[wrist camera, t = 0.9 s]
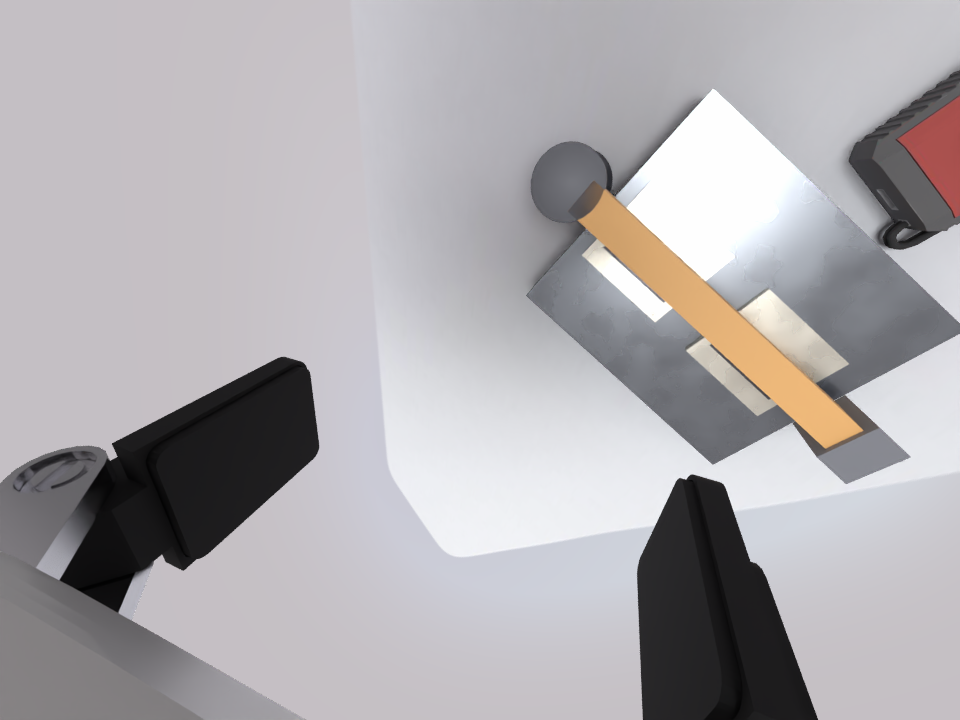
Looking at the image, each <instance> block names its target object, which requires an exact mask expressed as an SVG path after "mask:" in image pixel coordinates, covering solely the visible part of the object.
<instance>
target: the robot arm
mask: <svg viewBox="0 0 960 720" xmlns="http://www.w3.org/2000/svg"><path fill="white" fill-rule="evenodd" d="M310 377H311V376H310V372H309V370H307V367H306V365H305V364H304V363H303V362H301V361H297V360H294V359H290V358H287V357H280V358H277V359H275V360H273V361H271V362H269V363H267V364H266V365H264V366H262V367H260V368H258V369H256V370H254V371H252V372H250V373H248V374H246V375H244V376H242V377H240V378H238V379H236V380H234V381H232V382H231V383H229V384H227V385H225V386H223V387H221V388H219V389H217V390H215V391H213V392H211V393H209V394H207V395H205V396H203V397H201V398H199V399H198V400H196V401H194V402H192V403H190V404H188V405H186V406H184V407H182V408H180V409H178V410H176V411H174V412H172V413H170V414H168V415H167V416H164V417H163V418H161V419H159V420H157V421H155V422H153V423H151V424H149V425H147V426H145V427H143V428H141V429H139V430H137V431H135V432H133V433H132V434H129V435H128V436H126V437H124V438H122V439H120V440H118V441H116V442H114V443H112V445H113V447H114V449H115V452H116V454H117V456H118V457H117V458H115V459H113V460H111V461H110V460H109V458H108V456H107V453H106V451H104V450H103V449H101V448H99V447H94V446H76V447H71V448H66V449H61V450H57V451H54V452H51V453H48V454H45V455H43V456H40V457H38V458H36V459H33V460H31V461H29V462H27V463H26V464H24V465H22V466H21V467H19V468H17V469H16V470H14V471H13V472H12V473H11V474H10V475H9V476H7V477H6V478H5V479H4V480H3V481H2V482H1V483H0V720H305V719H303V718H302V717H300V716H298V715H297V714H295V713H293V712H291V711H290V710H288V709H286V708H284V707H283V706H281V705H279V704H277V703H276V702H274V701H272V700H270V699H269V698H267V697H265V696H263V695H262V694H260V693H258V692H256V691H255V690H253V689H251V688H249V687H248V686H246V685H244V684H242V683H240V682H239V681H237V680H235V679H234V678H232V677H230V676H228V675H227V674H225V673H223V672H221V671H220V670H218V669H216V668H214V667H213V666H211V665H209V664H207V663H205V662H204V661H202V660H200V659H198V658H197V657H195V656H193V655H191V654H190V653H188V652H186V651H184V650H183V649H181V648H179V647H177V646H176V645H174V644H172V643H170V642H168V641H167V640H165V639H163V638H162V637H160V636H158V635H156V634H154V633H153V632H151V631H149V630H147V629H146V628H144V627H142V626H140V625H138V624H137V623H135V622H133V621H132V618H133V616H134V613H135V610H136V608H137V605H138V603H139V600H140V597H141V595H142V592H143V590H144V587H145V584H146V582H147V579H148V577H149V574H150V571H151V569H152V566H153V563H154V560H156V559H157V558H158V557H159V556H160V555H163V557H164V559H165V561H166V562H167V563H169V564H171V565H173V566H175V567H177V568H179V569H181V570H185V569H186V568H187V567H188V566H189V565H190V564H192V563H193V562H194V561H195V560H196V559H200V558H202V557H204V556H205V555H207V554H208V553H209V552H210V551H211V550H213V549H214V548H215V547H216V546H217V545H218V544H219V543H220V542H222V541H223V540H224V539H225V538H226V537H227V536H228V535H229V534H230V533H232V532H233V531H234V530H235V529H236V528H237V527H238V526H239V525H240V524H242V523H243V522H244V521H245V520H246V519H247V518H248V517H249V516H250V515H252V514H253V513H254V512H255V511H256V510H257V509H258V508H259V507H260V506H262V505H263V504H264V503H265V502H266V501H267V500H268V499H269V498H270V497H271V496H273V495H274V494H275V493H276V492H277V491H278V490H279V489H280V488H282V487H283V486H284V485H285V484H286V483H287V482H288V481H289V480H290V479H292V478H293V477H294V476H295V475H296V474H297V473H298V472H299V471H300V470H301V469H302V468H304V467H305V466H306V465H307V464H308V463H309V462H310V461H311V460H313V459H314V457H315V456H316V454H317V452H318V450H319V440H318V432H317V424H316V416H315V408H314V401H313V393H312V384H311V378H310ZM637 584H638V606H639V607H638V609H639V633H640V659H641V682H642V709H643V720H818V718H817V715H816V713H815V710H814V707H813V704H812V702H811V699H810V696H809V693H808V691H807V688H806V685H805V683H804V680H803V677H802V674H801V672H800V669H799V666H798V663H797V661H796V658H795V655H794V652H793V650H792V647H791V644H790V642H789V639H788V636H787V633H786V631H785V628H784V625H783V622H782V620H781V617H780V614H779V611H778V609H777V606H776V603H775V600H774V598H773V595H772V592H771V589H770V587H769V584H768V581H767V578H766V576H765V574H764V572H763V570H762V569H761V568H760V567H759V566H758V565H757V564H756V563H753V562H750V559H749V556H748V553H747V550H746V547H745V544H744V541H743V538H742V535H741V532H740V530H739V527H738V524H737V521H736V518H735V515H734V512H733V509H732V506H731V503H730V500H729V497H728V494H727V491H726V488H725V486H724V484H722V483H720V482H717V481H714V480H710V479H707V478H703V477H700V476H696V475H690V476H689V477H688V478H687V480H685V479H682V478H679V479H678V480H677V481H676V483H675V485H674V487H673V489H672V492H671V494H670V496H669V498H668V500H667V502H666V504H665V506H664V509H663V511H662V513H661V515H660V517H659V519H658V521H657V523H656V526H655V528H654V530H653V532H652V534H651V536H650V538H649V540H648V543H647V545H646V547H645V549H644V551H643V553H642V555H641V557H640V560H639V564H638V571H637Z"/></svg>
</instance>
